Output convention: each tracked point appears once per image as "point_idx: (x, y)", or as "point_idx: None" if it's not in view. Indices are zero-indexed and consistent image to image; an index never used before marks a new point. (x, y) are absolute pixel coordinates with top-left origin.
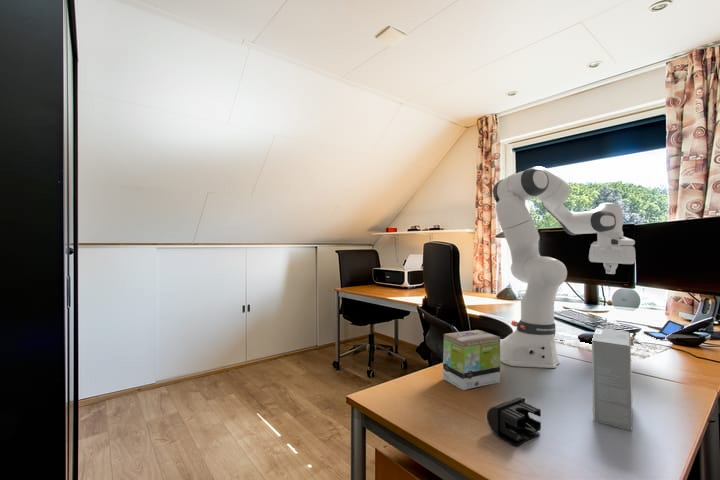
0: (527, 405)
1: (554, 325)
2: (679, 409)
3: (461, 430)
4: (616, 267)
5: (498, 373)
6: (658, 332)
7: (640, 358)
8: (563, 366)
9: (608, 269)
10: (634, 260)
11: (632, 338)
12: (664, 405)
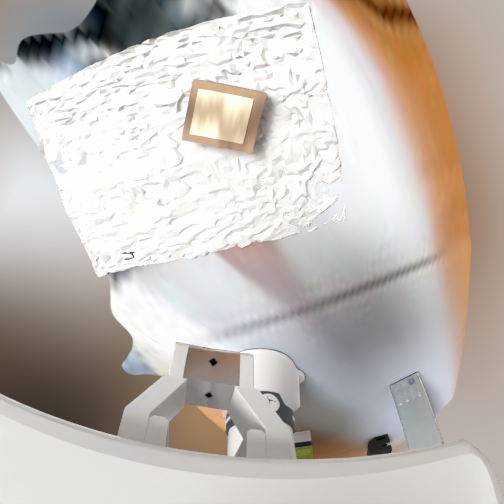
0: (384, 453)
1: (292, 423)
2: (449, 337)
3: (355, 456)
4: (275, 416)
5: (311, 440)
6: None
7: (338, 178)
8: (303, 360)
9: (189, 398)
10: (482, 465)
11: (265, 97)
12: (437, 342)
